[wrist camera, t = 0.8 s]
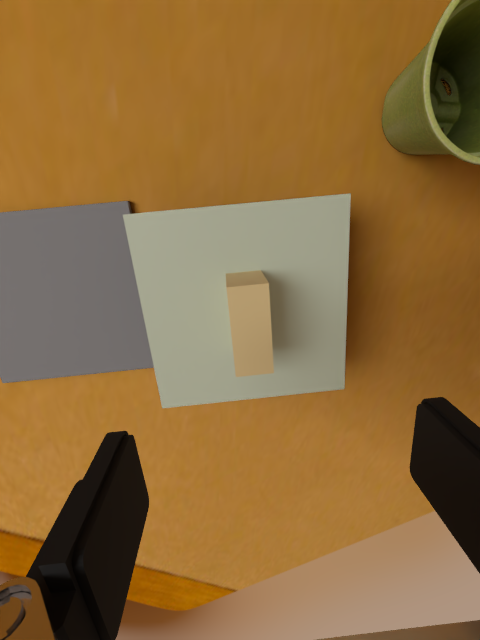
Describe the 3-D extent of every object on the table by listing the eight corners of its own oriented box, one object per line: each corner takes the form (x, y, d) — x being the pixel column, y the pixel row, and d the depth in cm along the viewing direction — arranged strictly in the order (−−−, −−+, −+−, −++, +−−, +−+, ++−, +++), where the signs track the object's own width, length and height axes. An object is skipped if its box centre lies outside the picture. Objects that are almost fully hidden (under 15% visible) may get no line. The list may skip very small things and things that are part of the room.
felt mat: (-57, 218, 25) (-64, 218, 25) (129, 201, 26) (127, 200, 25) (6, 379, 31) (2, 383, 30) (161, 363, 31) (160, 366, 30)
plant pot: (403, 202, 27) (481, 200, 19) (334, 110, 24) (391, 62, 16) (498, 114, 25) (632, 69, 17) (435, 4, 22) (557, -112, 14)
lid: (127, 214, 21) (100, 216, 17) (345, 193, 22) (379, 190, 17) (164, 401, 27) (152, 442, 22) (340, 382, 27) (365, 419, 22)
